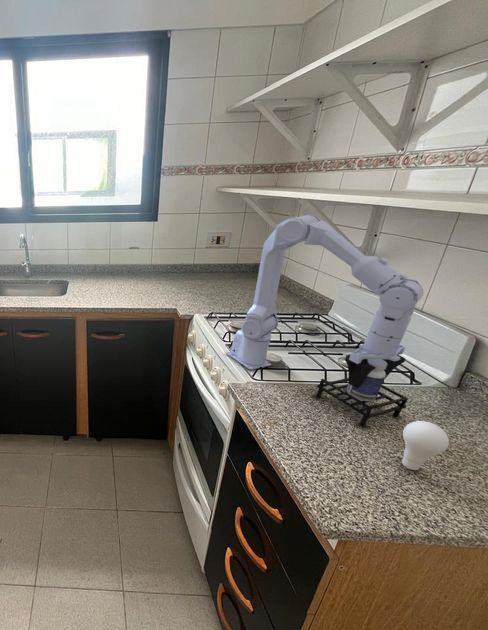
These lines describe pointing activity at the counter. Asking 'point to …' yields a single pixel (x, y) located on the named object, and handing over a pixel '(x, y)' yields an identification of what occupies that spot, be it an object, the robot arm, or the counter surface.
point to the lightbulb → (422, 443)
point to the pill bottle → (370, 382)
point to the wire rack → (369, 408)
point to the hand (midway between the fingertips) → (365, 382)
